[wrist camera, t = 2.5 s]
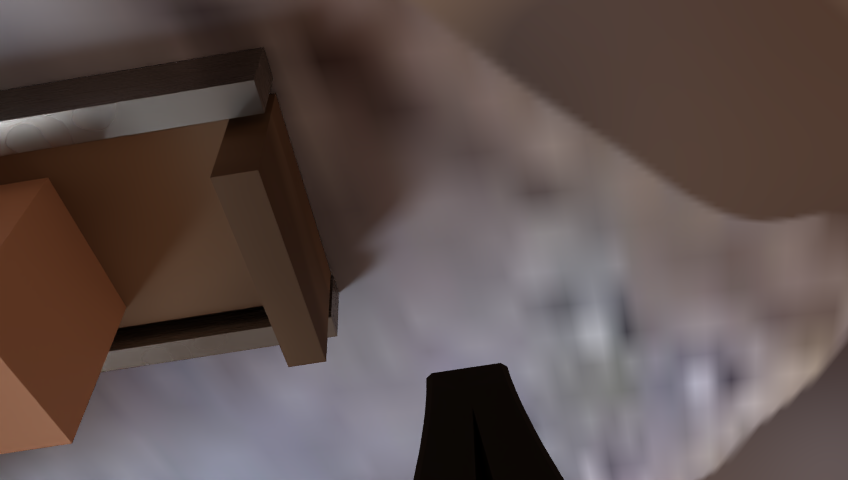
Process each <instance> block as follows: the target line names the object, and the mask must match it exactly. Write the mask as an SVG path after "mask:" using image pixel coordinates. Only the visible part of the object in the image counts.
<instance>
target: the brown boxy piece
mask: <svg viewBox="0 0 848 480" xmlns="http://www.w3.org/2000/svg"><path fill="white" fill-rule="evenodd" d="M42 178H49V180H50V182H51V183H52V185H53V187H54V188H55V190H56V192H57V193H58V195H59V197H60V198H61V200H62V202H63V203H64V205H65V207H66V208H67V210H68V211H69V213H70V215H71V216H72V218H73V220H74V221H75V223H76V225H77V226H78V228H79V230H80V231H81V233H82V235H83V236H84V238H85V240H86V241H87V243H88V245H89V246H90V248H91V250H92V251H93V253H94V254H95V256H96V258H97V259H98V261H99V263H100V264H101V266H102V268H103V269H104V271H105V273H106V274H107V276H108V278H109V279H110V281H111V283H112V284H113V286H114V288H115V289H116V291H117V293H118V294H119V296H120V297H121V299H122V301H123V302H124V304H125V306H126V310H125V312H124V315H123V317H122V320H121V322H120V325H119V327H118V328H122V327H129V326H135V325H142V324H148V323H155V322H161V321H168V320H174V319H181V318H187V317H194V316H200V315H207V314H213V313H220V312H226V311H233V310H239V309H245V308H252V307H258V306H263V307H264V309H265V312H266V314H267V316H268V319H269V321H270V324H271V326H272V328H273V331H274V333H275V336H276V338H277V340H278V343H279V345H280V348H281V350H282V352H283V355H284V357H285V360H286V362H287V365H288V367H292V366H299V365H305V364H312V363H319V362H325V361H326V353H327V334H328V315H329V297H330V278H331V272H330V269H329V265H328V262H327V259H326V256H325V252H324V249H323V246H322V243H321V239H320V236H319V233H318V230H317V226H316V223H315V220H314V217H313V213H312V210H311V207H310V204H309V200H308V197H307V194H306V191H305V187H304V184H303V181H302V178H301V174H300V171H299V168H298V165H297V161H296V158H295V155H294V152H293V148H292V145H291V142H290V139H289V135H288V132H287V129H286V126H285V122H284V119H283V116H282V113H281V109H280V106H279V103H278V100H277V96H276V93H275V94H269V97H268V101H267V105H266V109H265V113H262V114H256V115H250V116H244V117H238V118H231V119H225V120H219V121H213V122H207V123H201V124H194V125H188V126H182V127H176V128H170V129H164V130H157V131H151V132H145V133H139V134H133V135H127V136H120V137H114V138H108V139H102V140H96V141H89V142H83V143H77V144H71V145H65V146H59V147H52V148H46V149H40V150H34V151H28V152H22V153H15V154H9V155H3V156H0V185H5V184H11V183H17V182H23V181H30V180H36V179H42Z"/></svg>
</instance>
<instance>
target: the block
mask: <svg viewBox="0 0 848 480" xmlns="http://www.w3.org/2000/svg"><path fill="white" fill-rule="evenodd" d="M125 310H126V306H125V304H124V302H123V301H122V299H121V297H120V296H119V294H118V293H117V291H116V289H115V288H114V286H113V284H112V283H111V281H110V279H109V278H108V276H107V274H106V273H105V271H104V269H103V268H102V266H101V264H100V263H99V261H98V259H97V258H96V256H95V254H94V253H93V251H92V250H91V248H90V246H89V245H88V243H87V241H86V240H85V238H84V236H83V235H82V233H81V231H80V230H79V228H78V226H77V225H76V223H75V221H74V220H73V218H72V216H71V215H70V213H69V211H68V210H67V208H66V207H65V205H64V203H63V202H62V200H61V198H60V197H59V195H58V193H57V192H56V190H55V188H54V187H53V185H52V183H51V182H50V180H49V178H42V179H36V180H30V181H23V182H17V183H11V184H5V185H0V454H5V453H11V452H18V451H25V450H31V449H38V448H45V447H51V446H58V445H65V444H71V443H72V442H73V440H74V437H75V435H76V432H77V430H78V427H79V425H80V422H81V420H82V417H83V415H84V412H85V410H86V407H87V405H88V402H89V400H90V397H91V395H92V392H93V390H94V387H95V385H96V382H97V380H98V377H99V375H100V372H101V370H102V367H103V365H104V362H105V360H106V357H107V355H108V352H109V350H110V347H111V345H112V342H113V340H114V337H115V335H116V332H117V330H118V327H119V325H120V322H121V320H122V317H123V315H124V312H125Z"/></svg>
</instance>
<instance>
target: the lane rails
mask: <svg viewBox="0 0 848 480" xmlns="http://www.w3.org/2000/svg"><path fill="white" fill-rule="evenodd" d="M272 81H273V77H272V74H271V71H270V67H269V64H268V61H267V57H266V54H265V51H264V48H258V49H252V50H246V51H239V52H233V53H227V54H221V55H215V56H209V57H203V58H197V59H191V60H185V61H179V62H173V63H167V64H160V65H154V66H148V67H142V68H136V69H130V70H124V71H118V72H112V73H106V74H100V75H94V76H88V77H82V78H75V79H69V80H63V81H57V82H51V83H45V84H39V85H33V86H27V87H21V88H15V89H9V90H3V91H0V156H3V155H9V154H15V153H22V152H28V151H34V150H40V149H46V148H52V147H59V146H65V145H71V144H77V143H83V142H89V141H96V140H102V139H108V138H114V137H120V136H127V135H133V134H139V133H145V132H151V131H157V130H164V129H170V128H176V127H182V126H188V125H194V124H201V123H207V122H213V121H219V120H225V119H231V118H238V117H244V116H250V115H256V114H262V113H265V109H266V105H267V101H268V97H269V93H270V89H271V85H272ZM338 303H339V293H338V290H337V287H336V283H335V280H334V277H333V276H331V278H330V297H329V315H328V334H327V338H328V337H335V336H337V330H338ZM276 345H279V343H278V340H277V338H276V336H275V333H274V331H273V328H272V326H271V324H270V321H269V319H268V316H267V314H266V312H265V309H264V307H263V306H258V307H252V308H245V309H239V310H233V311H226V312H220V313H213V314H207V315H200V316H194V317H187V318H181V319H174V320H168V321H161V322H155V323H148V324H142V325H135V326H129V327H122V328H118V330H117V332H116V335H115V337H114V340H113V342H112V345H111V347H110V350H109V352H108V355H107V357H106V360H105V362H104V365H103V367H102V370H101V372H105V371H112V370H118V369H125V368H132V367H138V366H145V365H151V364H158V363H164V362H171V361H177V360H184V359H190V358H197V357H204V356H210V355H217V354H223V353H230V352H236V351H243V350H249V349H256V348H263V347H269V346H276Z"/></svg>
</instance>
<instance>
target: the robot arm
mask: <svg viewBox="0 0 848 480" xmlns="http://www.w3.org/2000/svg"><path fill="white" fill-rule="evenodd" d="M426 388H427V391H426V407H425V417H424V425H423V432H422V438H421V444H420V450H419V455H418V460H417V465H416V470H415V475H414V480H564V479H563V477H562V476H561V474H560V472H559V471H558V469H557V467H556V466H555V464H554V462H553V461H552V459H551V457H550V456H549V454H548V452H547V450H546V449H545V447H544V445H543V444H542V442H541V440H540V438H539V436H538V435H537V433H536V431H535V429H534V427H533V425H532V423H531V421H530V419H529V417H528V415H527V413H526V411H525V409H524V407H523V405H522V403H521V401H520V399H519V396H518V394H517V392H516V389H515V387H514V384H513V382H512V379H511V377H510V374H509V371H508V368H507V366H505V365H503V364H501V363H497V364H491V365H484V366H477V367H470V368H464V369H457V370H450V371H443V372H437V373H432V374H431V375H430V376H428V377H427V378H426Z"/></svg>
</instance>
